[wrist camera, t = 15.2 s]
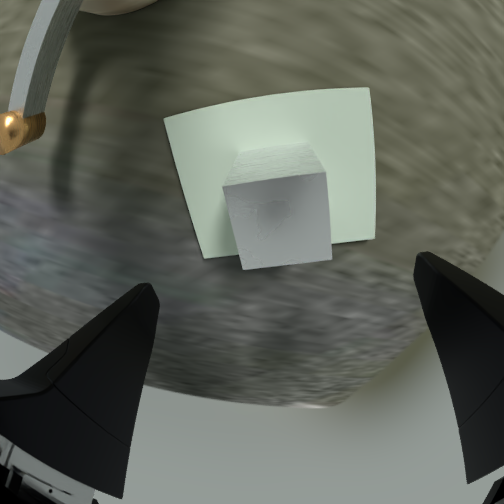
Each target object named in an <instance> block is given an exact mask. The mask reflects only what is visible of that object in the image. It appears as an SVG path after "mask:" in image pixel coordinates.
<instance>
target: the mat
mask: <svg viewBox="0 0 504 504" xmlns="http://www.w3.org/2000/svg"><path fill="white" fill-rule="evenodd" d="M164 123H165V126H166V130H167V134H168V138H169V142H170V145H171V149H172V153H173V157H174V160H175V164H176V167H177V171H178V174H179V178H180V181H181V185H182V188H183V192H184V195H185V199H186V202H187V205H188V209H189V212H190V215H191V219H192V222H193V225H194V228H195V231H196V235H197V238H198V241H199V244H200V247H201V250H202V253H203V257H204V259H205V258H213V257H222V256H231V255H239V252H238V248H237V244H236V240H235V236H234V232H233V229H232V225H231V221H230V217H229V213H228V209H227V205H226V201H225V197H224V193H223V188H222V186H223V184H224V182H225V180H226V178H227V176H228V173H229V171H230V169H231V167H232V165H233V163H234V161H235V159H236V157H237V155H238V153H239V152H241V151H247V150H253V149H259V148H266V147H272V146H279V145H286V144H294V143H302V142H309V144H310V146H311V147H312V149H313V151H314V152H315V154H316V156H317V157H318V159H319V161H320V162H321V164H322V166H323V167H324V169H325V171H326V176H327V187H328V198H329V212H330V227H331V244H334V243H342V242H351V241H359V240H368V239H375V215H376V174H375V148H374V132H373V119H372V109H371V99H370V91H369V88H337V89H321V90H309V91H299V92H290V93H281V94H274V95H267V96H261V97H254V98H248V99H243V100H238V101H232V102H227V103H223V104H218V105H213V106H209V107H205V108H200V109H196V110H192V111H188V112H185V113H181V114H177V115H174V116H170V117H167V118H164Z"/></svg>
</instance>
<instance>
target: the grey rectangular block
mask: <svg viewBox="0 0 504 504" xmlns="http://www.w3.org/2000/svg"><path fill="white" fill-rule="evenodd" d="M222 188H223V193H224V197H225V201H226V205H227V209H228V213H229V217H230V221H231V225H232V229H233V232H234V236H235V240H236V244H237V248H238V252H239V256H240V260H241V264H242V268H243V270H247V269H256V268H265V267H274V266H282V265H291V264H299V263H307V262H316V261H324V260H332V246H331V227H330V212H329V198H328V187H327V176H326V171H325V169H324V167H323V166H322V164H321V162H320V161H319V159H318V157H317V156H316V154H315V152H314V151H313V149H312V147H311V146H310V144H309V142H302V143H294V144H286V145H279V146H272V147H266V148H259V149H253V150H247V151H241V152H239V153H238V155H237V157H236V159H235V161H234V163H233V165H232V167H231V169H230V171H229V173H228V176H227V178H226V180H225V182H224V184H223V186H222Z"/></svg>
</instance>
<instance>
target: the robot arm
mask: <svg viewBox="0 0 504 504" xmlns="http://www.w3.org/2000/svg"><path fill="white" fill-rule="evenodd" d="M413 276H414V282H415V285H416V288H417V291H418V295H419V298H420V302H421V305H422V309H423V312H424V316H425V319H426V321H427V324H428V327H429V330H430V332H431V335H432V338H433V341H434V343H435V346H436V349H437V352H438V355H439V358H440V361H441V364H442V367H443V371H444V374H445V377H446V381H447V384H448V388H449V391H450V395H451V399H452V403H453V407H454V410H455V415H456V419H457V424H458V427H459V434H460V440H461V445H462V451H463V457H464V463H465V471H466V480H467V484H470V483H472V482H474V481H476V480H478V479H480V478H482V477H484V476H486V475H488V474H490V473H491V472H493V471H495V470H497V469H499V468H500V467H502V466H504V295H503V294H501V293H499V292H498V291H496V290H495V289H493V288H492V287H490V286H488V285H487V284H485V283H483V282H482V281H480V280H479V279H477V278H475V277H473V276H472V275H470V274H468V273H467V272H465V271H463V270H461V269H460V268H458V267H456V266H454V265H453V264H451V263H449V262H447V261H446V260H444V259H442V258H440V257H438V256H436V255H435V254H433V253H431V252H428V251H427V252H420V253H418V254H417V256H416V262H415V268H414V274H413ZM159 308H160V303H159V299H158V297H157V295H156V293H155V291H154V289H153V287H152V285H151V284H150V283H140V284H138V285H136V286H135V287H134V288H132V289H131V290H130V291H128V292H127V293H126V294H124V295H123V296H122V297H120V298H119V299H118V300H116V301H115V302H114V303H113V304H111V305H110V306H109V307H107V308H106V309H105V310H103V311H102V312H101V313H100V314H98V315H97V316H96V317H94V318H93V319H92V320H91V321H89V322H88V323H87V324H86V325H84V326H83V327H82V328H81V329H79V330H78V331H77V332H76V333H74V334H73V335H72V336H71V337H70V338H68V339H67V340H66V341H64V342H63V343H62V344H61V345H59V346H58V347H57V348H56V349H54V350H53V351H52V352H50V353H49V354H48V355H47V356H45V357H44V358H42V359H41V360H40V361H38V362H37V363H36V364H34V365H33V366H32V367H30V368H29V369H28V370H26V371H25V372H23V373H22V374H21V375H19V376H17V377H15V378H12V379H8V380H0V504H98V502H97V500H96V499H94V498H93V496H94V492H95V489H96V490H98V491H101V492H103V493H106V494H108V495H111V496H113V497H116V498H119V499H122V497H123V492H124V485H125V478H126V471H127V465H128V459H129V453H130V446H131V441H132V436H133V431H134V425H135V420H136V416H137V411H138V406H139V402H140V397H141V393H142V388H143V384H144V380H145V376H146V372H147V367H148V363H149V359H150V356H151V352H152V348H153V343H154V338H155V332H156V326H157V319H158V313H159ZM483 504H504V476H503V477H502V478H500V479H498V480H497V481H495V482H494V484H493V486H492V488H491V489H490V491H489V493H488V495H487V497H486V499H485V500H484V502H483Z"/></svg>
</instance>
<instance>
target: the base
mask: <svg viewBox="0 0 504 504" xmlns="http://www.w3.org/2000/svg"><path fill="white" fill-rule="evenodd" d="M156 1H158V0H84V1H83V3H82V5H81V7H80V9H79V10H80V11H85V12H89V13H94V14H98V15H107V16H110V15H120V14H125V13H129V12H133V11H136V10H138V9H141V8H144V7H146V6H148V5H150V4H152V3H154V2H156Z"/></svg>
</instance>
